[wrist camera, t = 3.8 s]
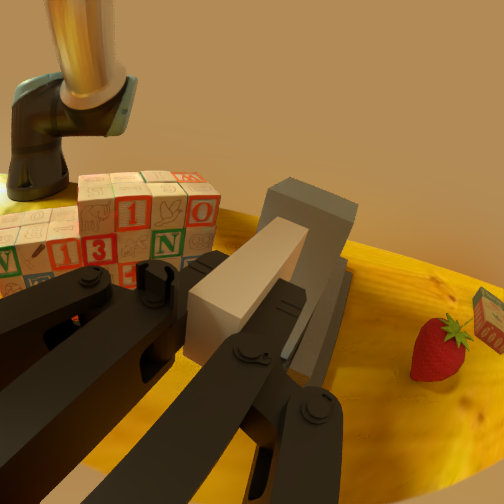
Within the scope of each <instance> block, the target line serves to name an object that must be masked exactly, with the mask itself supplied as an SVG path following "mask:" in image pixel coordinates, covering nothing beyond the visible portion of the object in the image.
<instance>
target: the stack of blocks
mask: <svg viewBox="0 0 504 504" xmlns="http://www.w3.org/2000/svg"><path fill="white" fill-rule="evenodd" d="M220 199H221V194H220V193H219V192H218V191H217V190H216V189H214V188H213V187H212V186H211V185H210V184H209V183H207V181H206V180H205V179H204V178H202V177H201V176H200V175H199V174H198V173H186V172H184V173H183V172H169V171H141V172H140V173H138V172H124V173H111V174H94V175H81V176H79V179H78V200H77V205H78V206H69V207H60V208H54V209H52V208H49V209H41V210H33V211H27V212H20V213H13V214H7V215H2V216H1V217H0V291H1V294H2V296H3V298H4V297H7V296H9V295H11V294H14V293H16V292H19V291H21V290H24V289H26V288H29V287H31V286H34V285H36V284H39V283H41V282H44V281H46V280H49V279H51V278H54V277H57V276H59V275H62V274H65V273H67V272H70V271H73V270H75V269H78V268H81V267H84V266H89V265H97V266H100V267H103V268H105V269H106V270H108V271H109V273H110V275H111V281H112V284H115V285H118V286H121V287H124V288H127V289H131V290H134V289H136V288H137V287H136V263H138V262H141V261H143V260H150V259H155V260H163V261H165V262H168V263H171V264H172V265H173V266H174V267H176V268H177V270H178V272H179V271H181V270H182V269H183V268H185V267H186V266H187V267H188V265H189V264H190V263H192V262H193V261H195V260H196V259H197V258H198V257H200V256H201V255H203V254H204V253H207V252H211V251H212V246H213V241H214V236H215V230H216V225H215V223H216V219H217V214H218V209H219V204H220ZM74 319H79V318H78V315H77V316H75V317H73V318H72V320H74Z"/></svg>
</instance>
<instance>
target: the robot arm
mask: <svg viewBox="0 0 504 504" xmlns="http://www.w3.org/2000/svg"><path fill="white" fill-rule="evenodd" d="M43 1H44V6H45V11H46V16H47V20H48V24H49V29H50V33H51V36H52V41H53V44H54V48H55V52H56V55H57V58H58V62H59V65H60V68H61V72H56V73H51V74H45V75H41V76H38V77H34V78H31V79H28V80H26V81H24V82H22V83H20V84H19V85H18V86H17V88H16V89H15V92H14V99H13V104H12V124H11V147H12V148H11V149H12V150H11V151H12V157H11V162H10V167H9V172H8V178H7V183H6V187H7V195H8V197H9V198H10V199H12V200H17V201H28V200H35V199H40V198H43V197H47V196H50V195H52V194H55V193H57V192H59V191H61V190H62V189H64V188H65V187H66V186H67V185H68V183H69V172H68V168H67V165H66V162H65V159H64V155H63V152H62V148H61V140H62V139H61V138H62V137H68V136H104V137H108V136H119V135H121V134H123V133H124V132H125V130H126V127H127V124H128V120H129V116H130V113H131V109H132V105H133V101H134V96H135V92H136V87H137V78H136V77H133V76H126V70H125V67H124V66H123V64H122V63H121V62H119V61H118V60H116V53H115V34H114V33H115V32H114V0H43ZM308 230H309V229H308V228H305V227H303V226H300V225H298V224H296V223H293V222H291V221H288V220H286V219H283V218H281V217H276V218H275V219H274V220H273V221H271V222H270V223H269V224H268V225H267V226H265V227H264V228H263V229H262V230H261V231H259V232H258V233H257V234H256V235H255V236H253V237H252V238H251V239H250V240H249V241H247V242H246V243H245V244H244V245H243V246H241V247H240V248H239V249H238V250H237V251H235V252H234V253H233V254H232V255H231V256H228V255H226V254H224V253H222V252H220V251H218V250H215V251H211V252H207V253H204V254H203V255H201V256H200V257H198V258H197V259H196V260H195V261H193V262H192V263H190V264H189V265H188V267H187V266H186V267H185V268H183V269H182V270H181V271H179V272H178V270H177V268H176V267H174V266H173V265H172V264H171V263H168V262H165V261H163V260H155V259H150V260H143V261H141V262H138V263H136V287H137V288H136V289H134V290H131V289H127V288H124V287H121V286H118V285H115V284H112V281H111V275H110V273H109V271H108V270H106V269H105V268H103V267H100V266H97V265H89V266H84V267H81V268H78V269H75V270H73V271H70V272H67V273H65V274H62V275H59V276H57V277H54V278H51V279H49V280H46V281H44V282H41V283H39V284H36V285H34V286H31V287H29V288H26V289H24V290H21V291H19V292H16V293H14V294H11V295H9V296H7V297H4V298H2V299H0V504H40V502H41V501H42V500H43V499H44V498H45V497H46V496H47V495H48V494H49V493H50V492H51V491H52V490H53V489H54V488H55V487H56V486H57V485H58V484H59V483H60V482H61V481H62V480H63V479H64V478H65V477H66V476H67V475H68V474H69V473H70V472H71V471H72V470H73V469H74V468H75V467H76V466H77V465H78V464H79V463H80V462H81V461H82V460H83V459H84V458H85V457H86V456H87V455H88V454H89V453H90V452H91V451H92V450H93V449H94V448H95V447H96V446H97V445H98V444H99V443H100V442H101V441H102V440H103V438H104V437H105V436H106V435H107V434H108V433H109V432H110V431H111V430H112V429H113V428H114V427H115V426H116V425H117V424H118V423H119V422H120V421H121V420H122V419H123V418H124V417H125V416H126V415H127V413H128V412H129V411H130V410H131V409H132V408H133V407H134V406H135V405H136V404H137V403H138V402H139V401H140V400H141V399H142V398H143V397H144V396H145V394H146V393H147V392H148V391H149V390H150V389H151V388H152V387H153V386H154V385H155V384H156V383H157V382H158V381H159V380H160V378H161V377H162V376H163V375H164V374H165V373H166V372H167V371H168V370H169V369H170V368H171V367H172V365H173V363H174V361H175V353H176V352H177V351H178V350H179V349H180V348H181V347H182V346H183V345H184V347H183V355H184V356H186V357H187V358H189V359H191V360H192V361H194V362H196V363H197V364H199V365H201V366H202V368H201V369H200V371H199V372H198V373H197V374H196V375H195V377H194V378H193V379H192V380H191V381H190V383H189V384H188V385H187V386H186V387H185V389H184V390H183V391H182V392H181V393H180V394H179V396H178V397H177V398H176V399H175V400H174V402H173V403H172V404H171V405H170V406H169V407H168V409H167V410H166V411H165V412H164V413H163V414H162V415H161V417H160V418H159V419H158V420H157V421H156V422H155V424H154V425H153V426H152V427H151V428H150V429H149V430H148V431H147V433H146V434H145V435H144V436H143V437H142V438H141V439H140V440H139V442H138V443H137V444H136V445H135V446H134V447H133V448H132V449H131V450H130V452H129V453H128V454H127V455H126V456H125V457H124V458H123V459H122V460H121V461H120V463H119V464H118V465H117V466H116V467H115V468H114V469H113V470H112V471H111V472H110V473H109V474H108V475H107V476H106V478H105V479H104V480H103V481H102V482H101V483H100V484H99V485H98V486H97V487H96V488H95V489H94V490H93V491H92V492H91V493H90V494H89V495H88V496H87V497H86V498H85V499H84V500H83V501H82V502H81V503H80V504H188V503H189V501H190V500H191V499H192V497H193V496H194V495H195V493H196V492H197V490H198V489H199V488H200V486H201V485H202V483H203V482H204V481H205V479H206V478H207V476H208V475H209V473H210V472H211V470H212V469H213V467H214V466H215V465H216V463H217V462H218V460H219V459H220V457H221V455H222V454H223V452H224V451H225V449H226V448H227V446H228V445H229V443H230V442H231V440H232V438H233V437H234V435H235V434H236V432H237V430H238V429H239V427H240V428H241V429H242V430H243V431H244V432H245V433H246V434H247V435H248V436H249V437H250V438H251V439H252V440H253V441H254V442H256V443H257V446H256V450H255V454H254V458H253V463H252V467H251V471H250V475H249V479H248V483H247V487H246V491H245V495H244V498H243V502H242V504H338V500H339V490H340V478H341V463H342V441H343V412H342V407H341V404H340V403H339V401H338V400H337V398H336V397H335V396H334V395H333V394H332V393H330V392H329V391H328V390H325V389H323V388H320V387H314V386H307V387H304V388H302V387H301V386H300V385H298V384H297V383H296V382H295V381H294V380H292V379H291V377H290V376H289V375H288V374H287V373H286V372H285V370H284V368H283V366H282V362H281V353H282V350H283V348H284V347H285V345H286V343H287V341H288V339H289V337H290V335H291V333H292V331H293V329H294V327H295V325H296V323H297V320H298V318H299V316H300V314H301V312H302V310H303V308H304V305H305V303H306V301H307V297H306V291H305V289H303V288H301V287H299V286H297V285H294V284H292V283H290V282H289V281H290V279H291V277H292V274H293V271H294V269H295V266H296V263H297V261H298V258H299V255H300V253H301V250H302V247H303V244H304V242H305V239H306V236H307V233H308ZM77 315H78V318H79V321H78V322H75V321H73V320H72V318H73V317H75V316H77Z"/></svg>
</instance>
